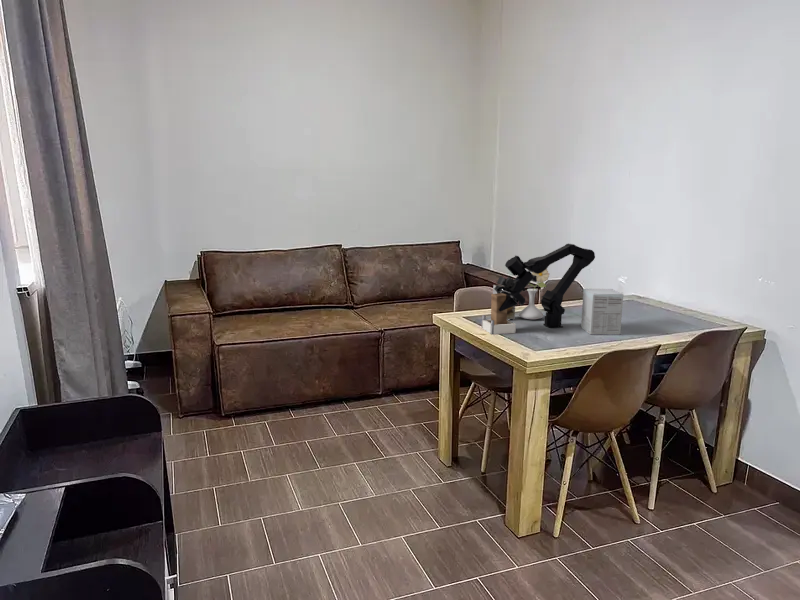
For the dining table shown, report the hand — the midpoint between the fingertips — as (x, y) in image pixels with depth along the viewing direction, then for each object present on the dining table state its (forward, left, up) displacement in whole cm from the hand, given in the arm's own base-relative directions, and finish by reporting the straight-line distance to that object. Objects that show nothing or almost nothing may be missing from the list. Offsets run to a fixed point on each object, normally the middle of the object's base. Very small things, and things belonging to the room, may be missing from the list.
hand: (496, 309), depth 257 cm
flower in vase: (-26, -18, -10) cm, 33 cm away
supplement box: (-44, +10, -10) cm, 46 cm away
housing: (-1, 0, -9) cm, 9 cm away
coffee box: (-12, -20, -10) cm, 25 cm away
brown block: (-1, 0, -8) cm, 8 cm away
